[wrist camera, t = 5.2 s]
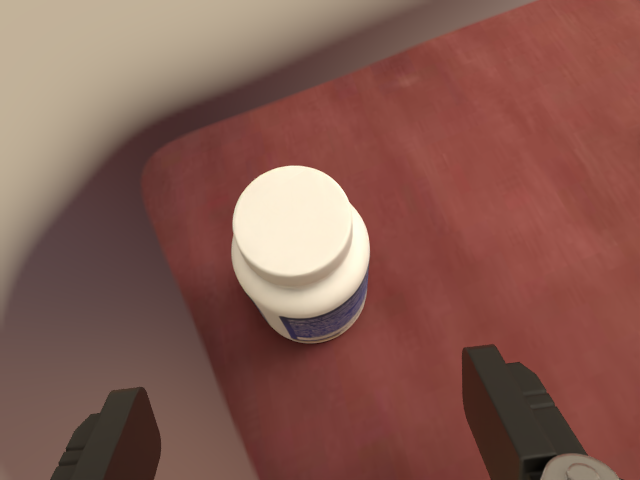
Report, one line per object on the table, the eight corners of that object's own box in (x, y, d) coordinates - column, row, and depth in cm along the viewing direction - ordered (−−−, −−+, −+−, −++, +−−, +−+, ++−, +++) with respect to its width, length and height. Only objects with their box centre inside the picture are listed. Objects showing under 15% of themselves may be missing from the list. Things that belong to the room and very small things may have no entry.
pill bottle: (385, 266, 26) (401, 186, 18) (335, 364, 25) (327, 327, 16) (289, 221, 27) (262, 125, 19) (236, 312, 26) (182, 252, 17)
